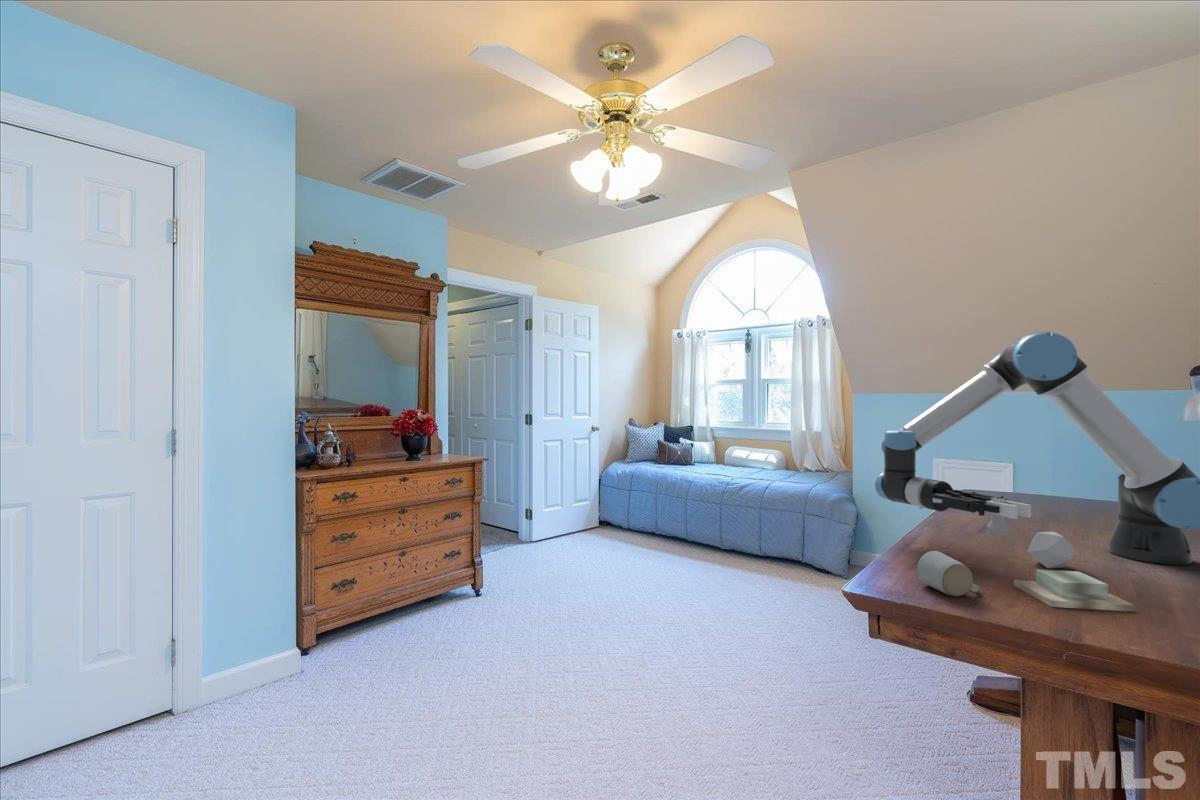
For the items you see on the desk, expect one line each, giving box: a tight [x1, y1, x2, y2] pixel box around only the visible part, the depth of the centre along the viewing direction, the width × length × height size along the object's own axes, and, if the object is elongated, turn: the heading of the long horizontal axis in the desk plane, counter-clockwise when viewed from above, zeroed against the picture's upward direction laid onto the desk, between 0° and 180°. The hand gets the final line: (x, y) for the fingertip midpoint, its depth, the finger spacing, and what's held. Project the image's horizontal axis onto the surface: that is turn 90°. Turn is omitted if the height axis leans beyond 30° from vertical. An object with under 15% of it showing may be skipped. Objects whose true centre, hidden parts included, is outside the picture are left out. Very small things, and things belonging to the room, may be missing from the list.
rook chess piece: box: [986, 496, 1011, 537], centre depth 127 cm, size 4×4×8 cm
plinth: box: [1013, 569, 1135, 612], centre depth 112 cm, size 14×12×4 cm
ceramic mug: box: [916, 550, 980, 597], centre depth 115 cm, size 10×8×7 cm
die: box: [1026, 531, 1076, 569], centre depth 133 cm, size 8×9×10 cm
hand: (1022, 511), depth 121 cm, fingers closed on rook chess piece, 3 cm apart
